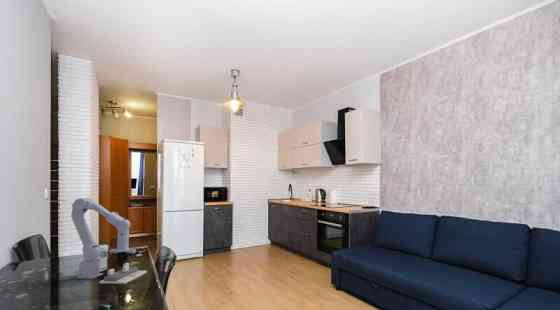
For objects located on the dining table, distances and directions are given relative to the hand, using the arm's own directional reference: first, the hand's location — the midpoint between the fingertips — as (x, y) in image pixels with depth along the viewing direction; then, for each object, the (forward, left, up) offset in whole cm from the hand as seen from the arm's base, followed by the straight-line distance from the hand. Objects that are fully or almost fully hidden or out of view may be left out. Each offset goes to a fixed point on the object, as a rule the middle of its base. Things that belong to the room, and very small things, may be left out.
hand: (122, 266), depth 158 cm
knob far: (+2, 0, -1) cm, 3 cm away
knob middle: (+6, -6, -1) cm, 9 cm away
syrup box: (-20, +7, -5) cm, 21 cm away
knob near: (+2, -12, -1) cm, 12 cm away
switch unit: (+6, -6, -4) cm, 10 cm away
